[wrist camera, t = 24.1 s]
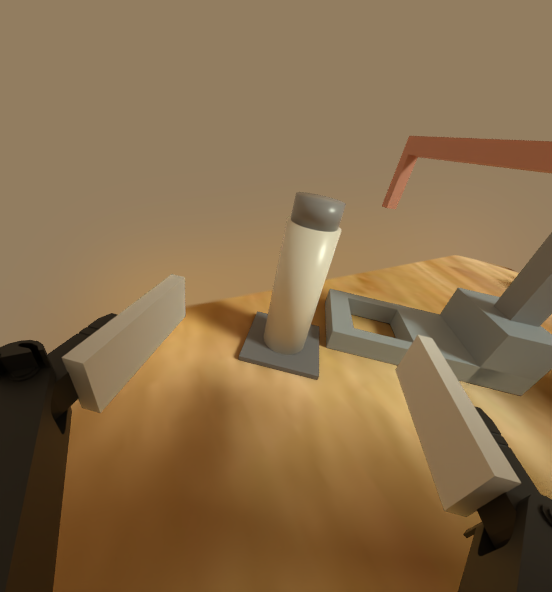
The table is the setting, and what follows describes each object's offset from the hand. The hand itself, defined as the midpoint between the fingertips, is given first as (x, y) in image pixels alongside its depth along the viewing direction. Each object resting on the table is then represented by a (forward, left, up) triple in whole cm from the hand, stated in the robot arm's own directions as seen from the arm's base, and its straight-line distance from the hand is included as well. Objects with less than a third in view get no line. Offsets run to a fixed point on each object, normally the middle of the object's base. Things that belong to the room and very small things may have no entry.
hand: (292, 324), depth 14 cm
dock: (-16, -16, -10) cm, 25 cm away
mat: (0, -10, -10) cm, 14 cm away
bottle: (0, -10, -9) cm, 13 cm away
